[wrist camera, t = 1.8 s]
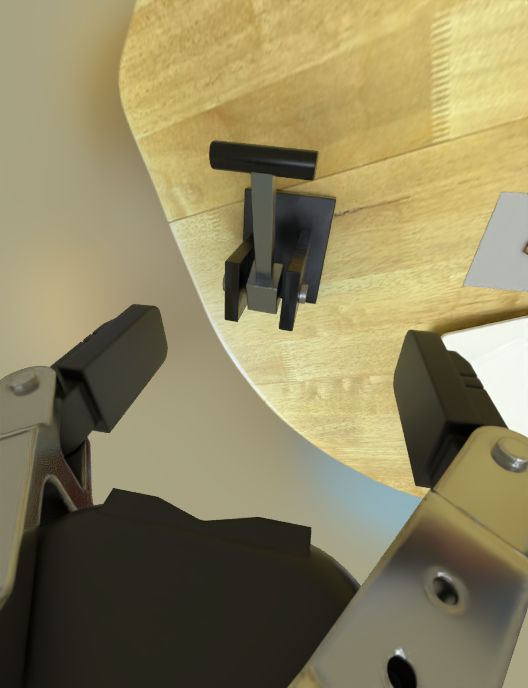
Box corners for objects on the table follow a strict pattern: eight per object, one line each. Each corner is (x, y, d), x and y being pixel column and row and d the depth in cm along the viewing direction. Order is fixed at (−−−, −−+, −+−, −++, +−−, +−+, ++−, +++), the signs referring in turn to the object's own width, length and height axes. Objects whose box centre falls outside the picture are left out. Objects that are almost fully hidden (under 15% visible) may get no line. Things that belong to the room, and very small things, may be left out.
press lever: (218, 128, 15) (202, 155, 14) (321, 139, 14) (314, 167, 13) (237, 283, 24) (229, 306, 23) (300, 293, 24) (295, 317, 23)
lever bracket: (248, 186, 28) (200, 212, 18) (336, 197, 27) (335, 230, 17) (243, 287, 34) (205, 347, 24) (316, 299, 33) (307, 366, 23)
